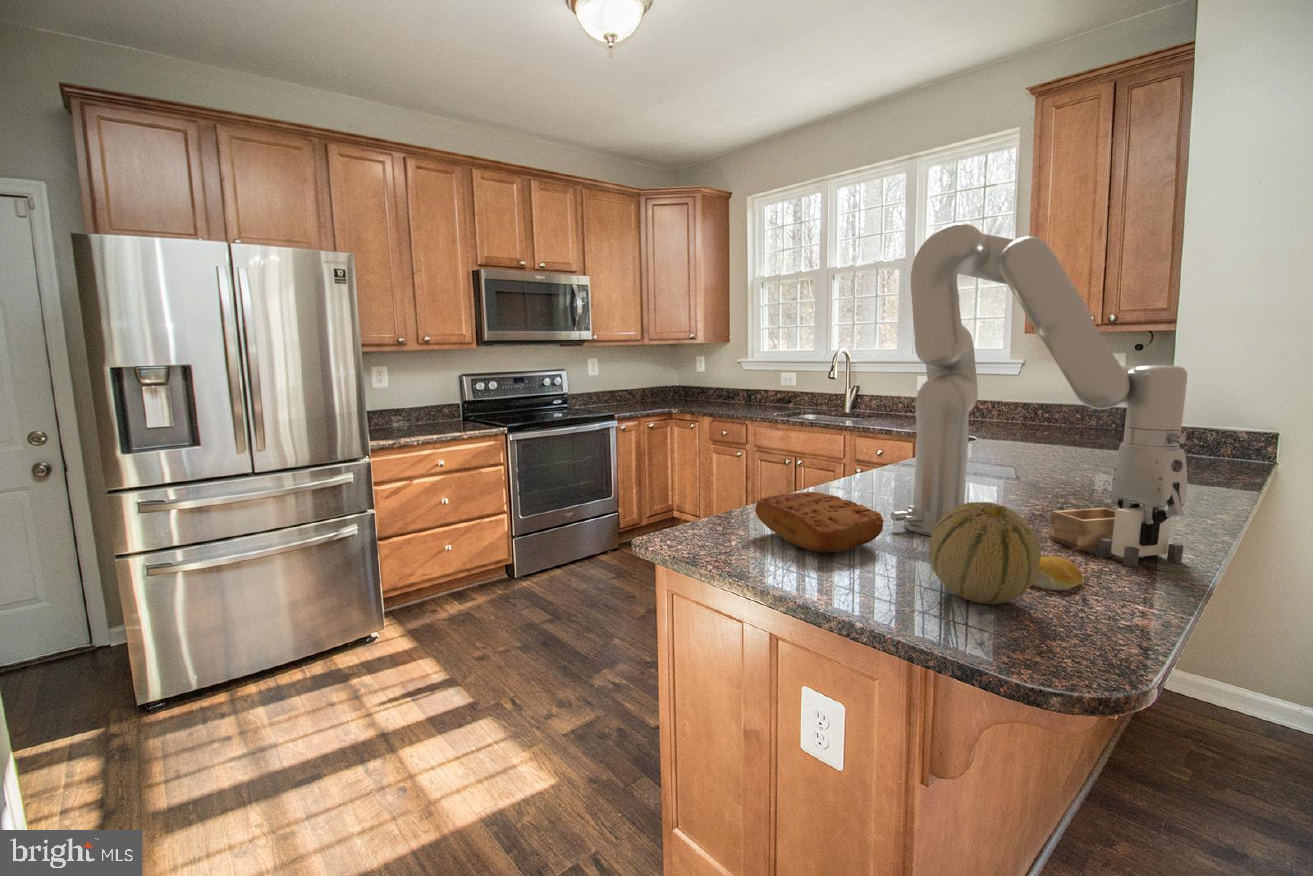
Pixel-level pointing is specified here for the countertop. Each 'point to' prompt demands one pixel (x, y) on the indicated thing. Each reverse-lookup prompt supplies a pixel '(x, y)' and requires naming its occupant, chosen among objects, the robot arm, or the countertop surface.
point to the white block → (1136, 533)
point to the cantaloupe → (984, 552)
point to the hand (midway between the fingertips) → (1140, 541)
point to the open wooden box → (1096, 534)
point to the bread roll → (1057, 574)
